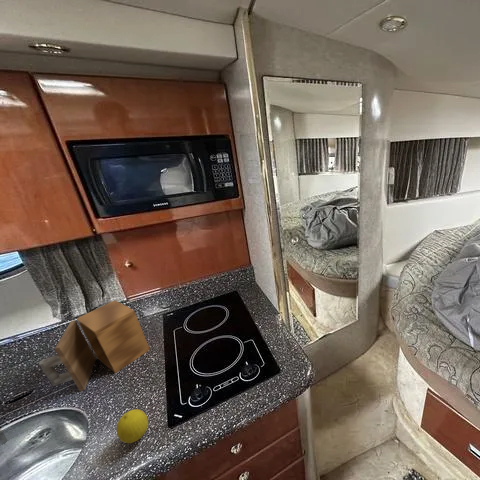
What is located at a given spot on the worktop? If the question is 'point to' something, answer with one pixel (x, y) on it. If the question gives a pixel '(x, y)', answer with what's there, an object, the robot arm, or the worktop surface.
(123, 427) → the lemon
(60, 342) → the cupboard door
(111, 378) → the worktop surface
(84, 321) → the cupboard
